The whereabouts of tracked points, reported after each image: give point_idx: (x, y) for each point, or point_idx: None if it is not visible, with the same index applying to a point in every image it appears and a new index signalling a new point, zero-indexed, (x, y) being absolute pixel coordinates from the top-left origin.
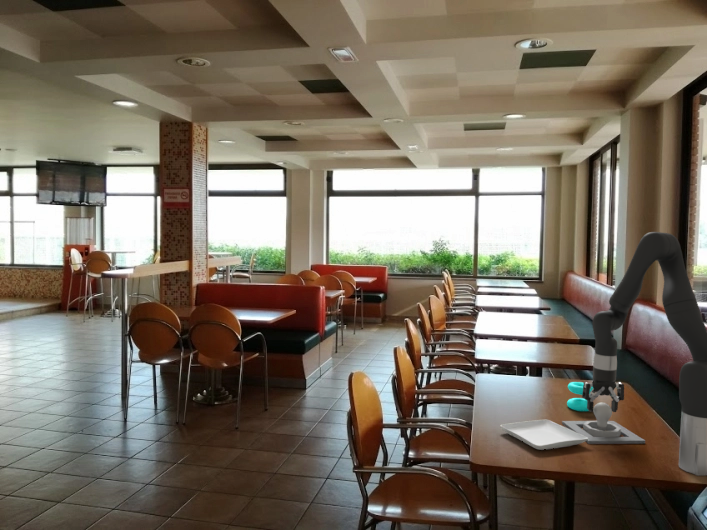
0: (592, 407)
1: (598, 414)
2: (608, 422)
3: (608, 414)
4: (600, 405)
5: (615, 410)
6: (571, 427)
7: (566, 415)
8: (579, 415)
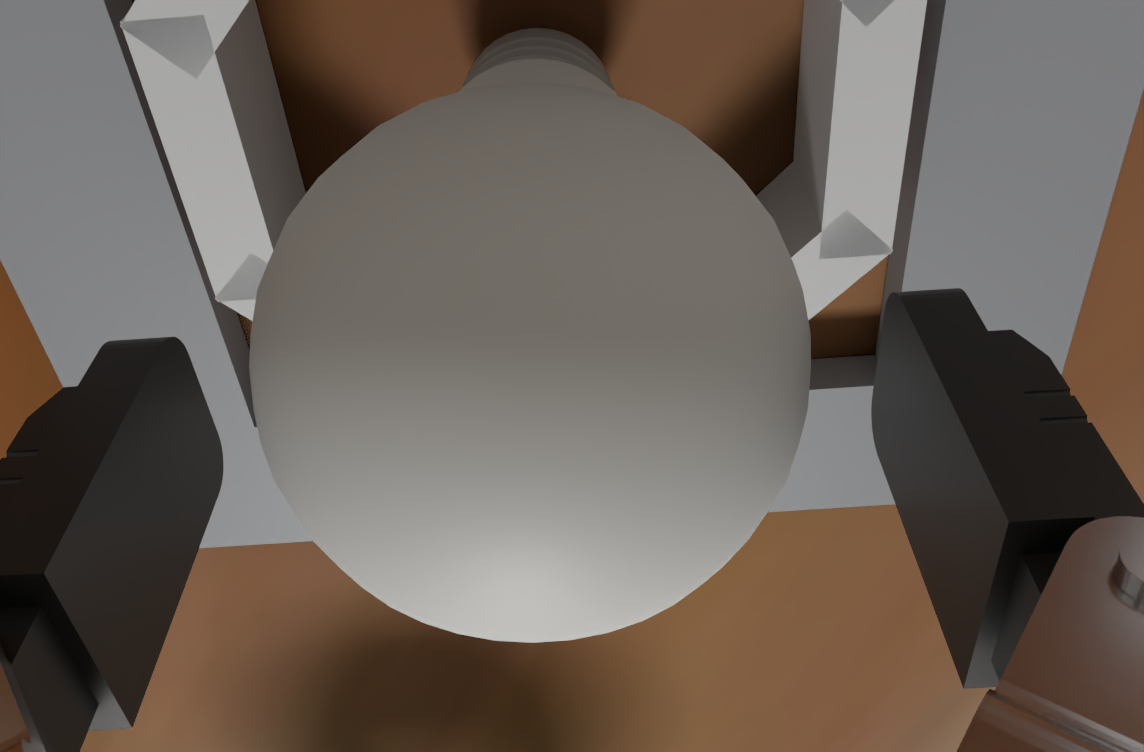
0: (974, 370)
1: (745, 187)
2: (249, 485)
3: (451, 108)
4: (690, 423)
5: (119, 363)
6: (1087, 225)
7: (729, 712)
8: (549, 722)
